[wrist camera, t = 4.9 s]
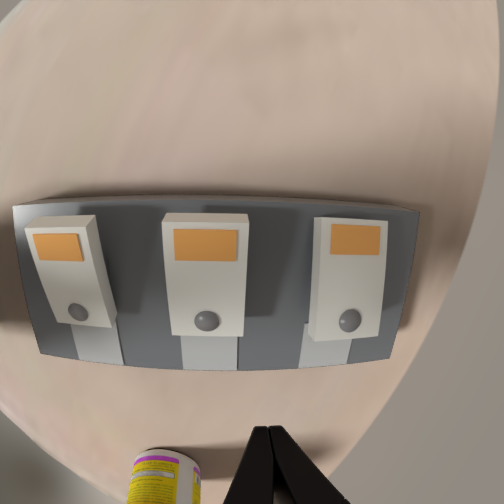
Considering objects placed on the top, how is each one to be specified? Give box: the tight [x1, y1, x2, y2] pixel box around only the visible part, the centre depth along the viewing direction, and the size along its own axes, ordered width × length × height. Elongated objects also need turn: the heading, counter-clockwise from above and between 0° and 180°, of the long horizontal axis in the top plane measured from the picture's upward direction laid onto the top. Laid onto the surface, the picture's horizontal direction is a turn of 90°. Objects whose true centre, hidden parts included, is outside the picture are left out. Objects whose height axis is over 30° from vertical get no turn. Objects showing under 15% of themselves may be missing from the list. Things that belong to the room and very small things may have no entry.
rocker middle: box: [162, 213, 249, 336], centre depth 14 cm, size 6×4×1 cm, turn 177°
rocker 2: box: [308, 217, 388, 342], centre depth 15 cm, size 6×4×1 cm, turn 178°
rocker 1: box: [24, 215, 117, 328], centre depth 13 cm, size 6×4×1 cm, turn 177°
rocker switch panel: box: [13, 195, 420, 371], centre depth 17 cm, size 24×10×4 cm, turn 88°
